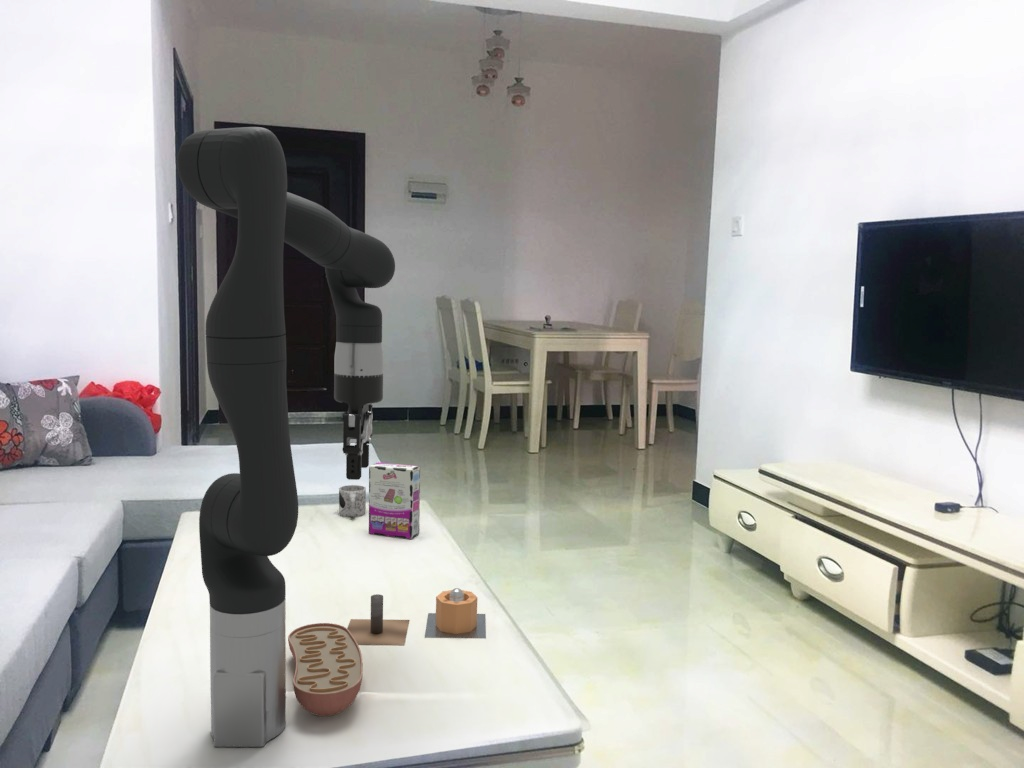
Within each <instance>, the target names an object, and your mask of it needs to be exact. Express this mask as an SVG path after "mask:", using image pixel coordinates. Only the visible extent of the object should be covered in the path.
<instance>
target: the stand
mask: <svg viewBox="0 0 1024 768" xmlns="http://www.w3.org/2000/svg"><path fill="white" fill-rule="evenodd" d="M410 621H411V620H410V619H384V595H383V594H378V593H377V594H372V595H371V596H370V619H363V618H362V619H361V618H359V619H358V618H350V620H349V623H348V625H347V627H346V628H347V629H348V630H349V631H350V633H351V634H352V636H353V637H354V638H355V640H356V642H357V644H358V645H359V646H399V647H400V646H401V647H402V646H405V645H406V640H407V639H406V638H407V634H408V630H409V624H410Z"/></svg>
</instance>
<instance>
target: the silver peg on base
mask: <svg viewBox="0 0 1024 768" xmlns="http://www.w3.org/2000/svg"><path fill="white" fill-rule="evenodd" d="M451 590H452V591H451V592H450V601H454V602H459V601H464V593H463V591H462V590H463V589H461V588H458V587H457V588H453V589H451ZM486 618H487V617H486V613H477V626H476V627H475V628H474V629H473V630H472V631H471V632H465V633H459V634H453V633H447V632H442V631H440V630H439V628H438V627H437V626H436V612H433V613H432V612H428V614H427V618H426V619H427V620H426V625H425V632H424V639H426V638H427V639H428V638H429V639H487V625H486V623H487V622H486V620H487V619H486Z"/></svg>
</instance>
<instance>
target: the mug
mask: <svg viewBox="0 0 1024 768" xmlns="http://www.w3.org/2000/svg"><path fill="white" fill-rule="evenodd" d="M366 490H367V488H366V486H363V485H359V484H358V485H357V484H351V485H349V484H348V485H343V486H340V487H339V488H338V515H339V516H341V517H344V518H358V517H363V516H365V515H366V513H367V512H366V507H367V506H366V504H367V503H366V502H367V497H366V496H367V495H366V494H367V491H366Z"/></svg>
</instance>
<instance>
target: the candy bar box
mask: <svg viewBox="0 0 1024 768" xmlns="http://www.w3.org/2000/svg"><path fill="white" fill-rule="evenodd" d="M420 490H421V466H420V465H409V464H400V463H399V464H398V463H389V462H376V463H373V464H371V465H368V534H369V535H373V536H374V535H375V536H382V537H389V538H390V537H391V538H392V537H393V538H399V539H406V540H407V539H409V540H412V539H413V538H415V537H416V536H418V535H419V534H420V518H421V517H420V515H421V514H420V509H421V508H420V505H421V503H420V500H421V498H420V495H421V494H420V493H421V491H420Z"/></svg>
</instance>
